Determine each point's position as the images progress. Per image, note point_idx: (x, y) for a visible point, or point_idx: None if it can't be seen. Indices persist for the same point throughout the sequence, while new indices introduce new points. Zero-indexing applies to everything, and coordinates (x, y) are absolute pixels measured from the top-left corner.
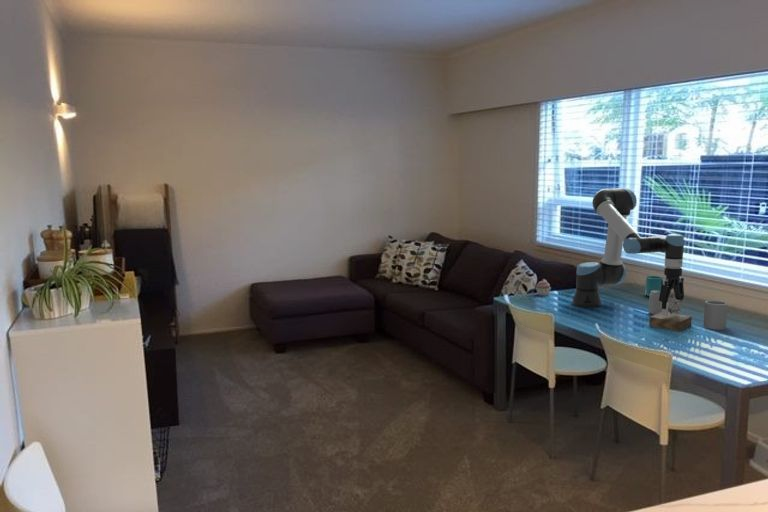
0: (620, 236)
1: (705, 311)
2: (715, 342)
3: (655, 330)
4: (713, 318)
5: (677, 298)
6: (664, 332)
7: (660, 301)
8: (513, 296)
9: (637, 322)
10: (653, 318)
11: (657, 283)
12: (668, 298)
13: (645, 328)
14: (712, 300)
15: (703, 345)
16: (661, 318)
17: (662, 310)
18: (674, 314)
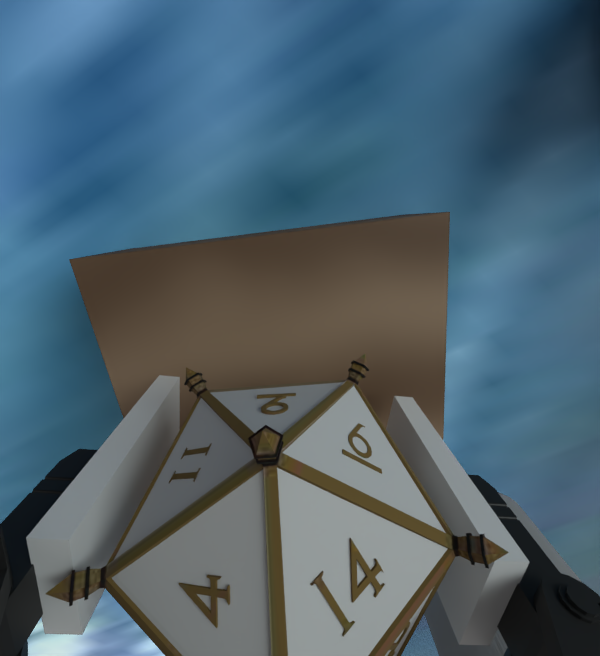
0: None
1: (489, 650)
2: (153, 652)
3: (59, 354)
4: (435, 644)
5: (526, 626)
6: (75, 421)
7: None
8: None
9: (154, 74)
10: (92, 303)
11: None
12: (217, 641)
13: (32, 266)
14: None
15: (45, 647)
16: (127, 384)
17: (132, 417)
18: (409, 380)
